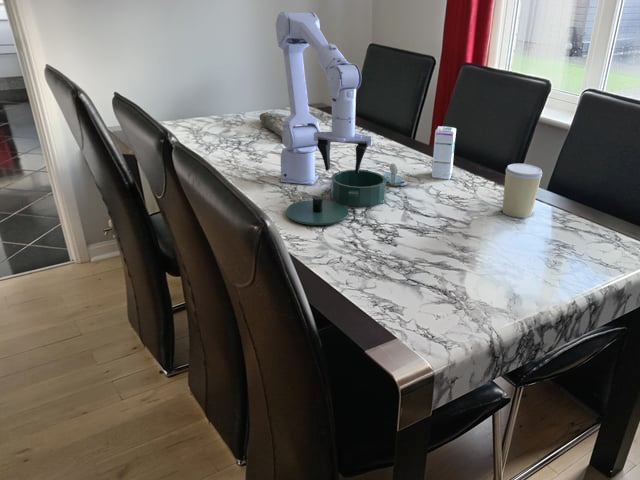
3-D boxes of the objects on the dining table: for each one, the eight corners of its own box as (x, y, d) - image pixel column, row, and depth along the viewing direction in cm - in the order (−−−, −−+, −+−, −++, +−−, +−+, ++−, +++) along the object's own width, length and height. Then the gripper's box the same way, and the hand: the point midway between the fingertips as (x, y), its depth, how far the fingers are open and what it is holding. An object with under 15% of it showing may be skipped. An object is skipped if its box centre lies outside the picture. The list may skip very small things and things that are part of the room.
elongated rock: (284, 149, 198) (311, 148, 202) (285, 134, 195) (312, 133, 200) (253, 119, 223) (278, 119, 228) (253, 105, 220) (278, 105, 225)
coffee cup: (536, 209, 157) (544, 166, 151) (532, 221, 149) (541, 176, 143) (502, 203, 159) (509, 161, 153) (496, 215, 152) (503, 170, 146)
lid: (278, 224, 139) (278, 206, 137) (295, 201, 152) (294, 184, 150) (342, 230, 138) (342, 212, 135) (353, 206, 151) (353, 190, 149)
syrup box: (449, 179, 175) (455, 131, 167) (430, 177, 175) (435, 129, 168) (451, 174, 180) (457, 127, 172) (433, 172, 180) (437, 125, 173)
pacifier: (397, 179, 173) (380, 181, 170) (399, 158, 170) (382, 160, 167) (411, 186, 168) (394, 188, 165) (413, 165, 165) (396, 167, 162)
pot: (324, 208, 149) (324, 188, 147) (338, 183, 167) (339, 165, 164) (380, 213, 148) (381, 193, 146) (388, 187, 166) (389, 169, 163)
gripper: (310, 118, 138) (310, 172, 144) (370, 123, 136) (368, 178, 143) (317, 111, 144) (317, 164, 150) (374, 116, 143) (372, 169, 149)
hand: (342, 170), depth 147 cm, fingers open, 7 cm apart
